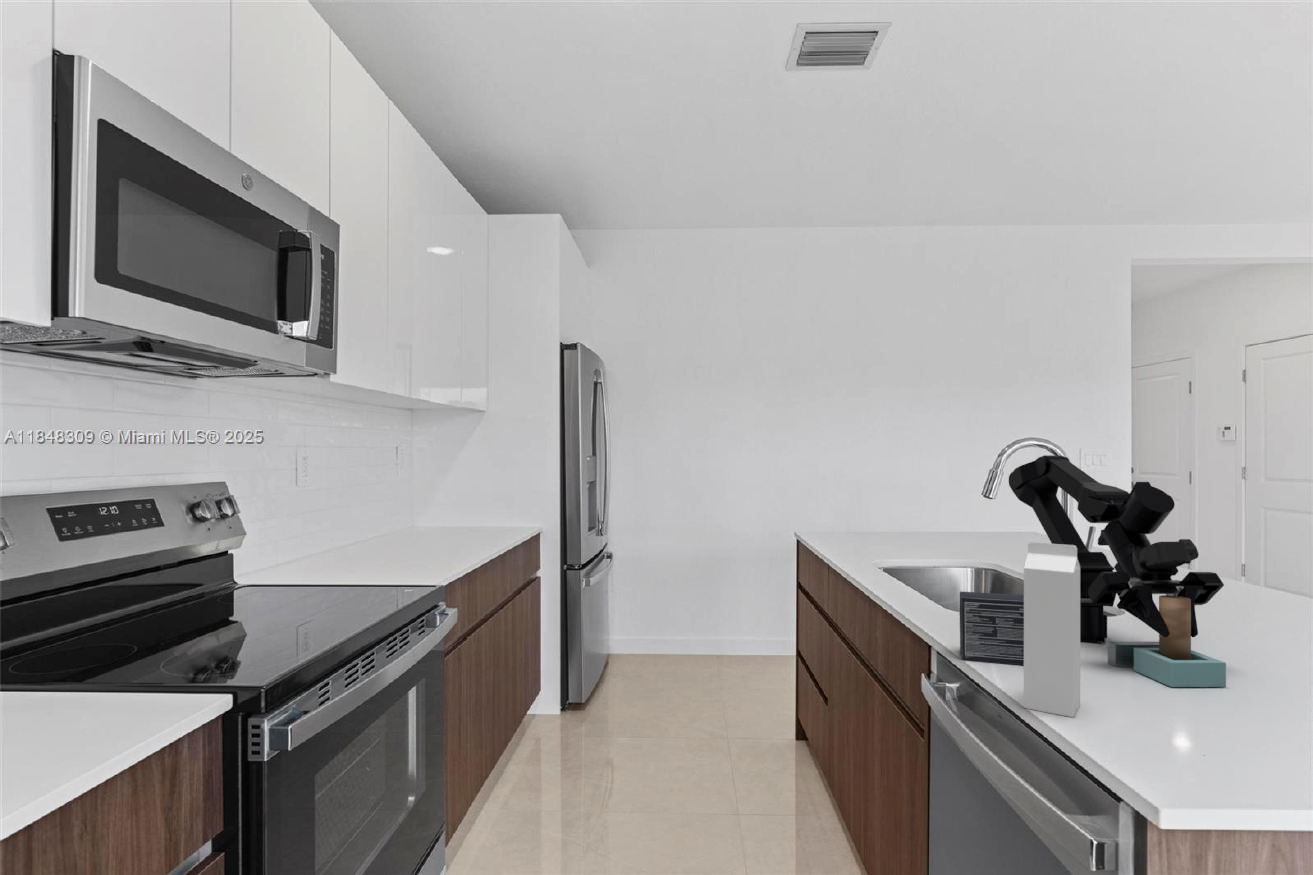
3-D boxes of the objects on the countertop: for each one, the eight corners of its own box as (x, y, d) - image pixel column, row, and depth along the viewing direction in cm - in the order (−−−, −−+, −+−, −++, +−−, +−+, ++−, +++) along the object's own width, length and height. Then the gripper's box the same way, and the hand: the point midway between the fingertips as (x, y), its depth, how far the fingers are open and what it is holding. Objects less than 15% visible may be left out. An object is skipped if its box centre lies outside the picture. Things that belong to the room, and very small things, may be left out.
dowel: (1161, 678, 114) (1161, 598, 114) (1157, 671, 118) (1157, 594, 118) (1193, 682, 112) (1193, 601, 112) (1188, 675, 116) (1188, 596, 116)
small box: (1027, 656, 126) (1027, 593, 127) (1032, 667, 120) (1032, 601, 120) (959, 650, 130) (959, 589, 130) (961, 660, 124) (961, 596, 124)
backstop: (1107, 663, 122) (1107, 641, 123) (1174, 663, 123) (1174, 641, 123) (1115, 666, 120) (1115, 644, 121) (1183, 666, 121) (1183, 644, 121)
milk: (1032, 696, 106) (1031, 539, 106) (1081, 705, 102) (1080, 543, 103) (1023, 708, 101) (1022, 543, 101) (1074, 718, 97) (1073, 547, 98)
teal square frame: (1133, 670, 118) (1133, 647, 118) (1185, 670, 118) (1185, 647, 118) (1170, 686, 110) (1170, 662, 110) (1225, 686, 110) (1225, 662, 110)
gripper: (1099, 520, 119) (1146, 606, 108) (1215, 521, 119) (1273, 606, 108) (1070, 562, 127) (1111, 646, 116) (1178, 562, 127) (1230, 646, 116)
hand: (1181, 635), depth 114 cm, fingers closed on dowel, 4 cm apart
